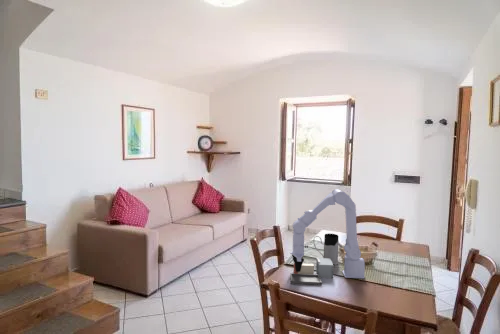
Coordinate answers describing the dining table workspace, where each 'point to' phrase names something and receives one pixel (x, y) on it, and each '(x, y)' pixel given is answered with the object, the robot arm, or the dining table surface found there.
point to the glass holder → (330, 247)
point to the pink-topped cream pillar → (305, 269)
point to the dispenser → (324, 267)
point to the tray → (305, 279)
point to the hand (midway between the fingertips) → (297, 270)
